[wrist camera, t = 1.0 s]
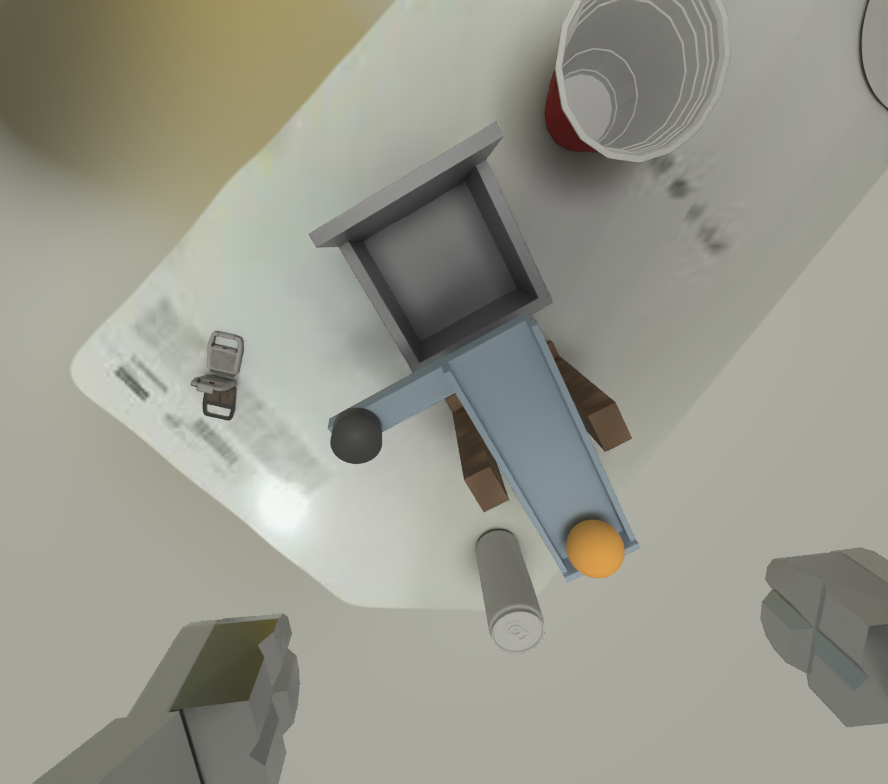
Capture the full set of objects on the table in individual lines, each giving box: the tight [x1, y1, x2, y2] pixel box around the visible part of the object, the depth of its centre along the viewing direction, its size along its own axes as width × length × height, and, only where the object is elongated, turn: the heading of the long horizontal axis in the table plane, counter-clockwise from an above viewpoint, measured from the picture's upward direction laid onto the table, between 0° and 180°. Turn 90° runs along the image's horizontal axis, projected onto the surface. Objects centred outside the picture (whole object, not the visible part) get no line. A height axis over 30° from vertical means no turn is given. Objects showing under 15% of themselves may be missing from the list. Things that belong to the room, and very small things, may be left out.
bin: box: [309, 122, 553, 373], centre depth 34 cm, size 12×12×16 cm
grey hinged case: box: [191, 331, 244, 420], centre depth 42 cm, size 8×3×4 cm, turn 165°
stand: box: [445, 340, 632, 512], centre depth 39 cm, size 11×6×14 cm, turn 119°
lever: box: [328, 312, 640, 582], centre depth 33 cm, size 14×20×6 cm
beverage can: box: [476, 530, 545, 654], centre depth 45 cm, size 5×5×12 cm
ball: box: [566, 520, 625, 578], centre depth 34 cm, size 4×4×4 cm
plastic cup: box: [545, 0, 730, 163], centre depth 33 cm, size 11×11×12 cm
